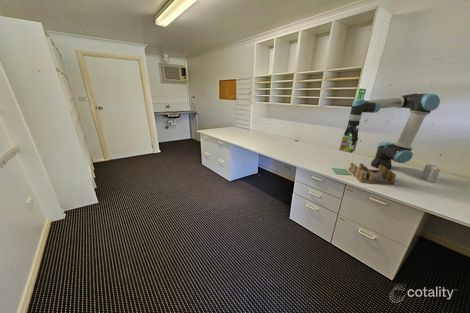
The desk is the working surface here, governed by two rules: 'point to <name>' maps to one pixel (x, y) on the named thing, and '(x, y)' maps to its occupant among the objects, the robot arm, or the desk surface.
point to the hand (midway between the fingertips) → (348, 146)
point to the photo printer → (430, 173)
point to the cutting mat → (341, 171)
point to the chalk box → (347, 144)
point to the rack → (381, 171)
